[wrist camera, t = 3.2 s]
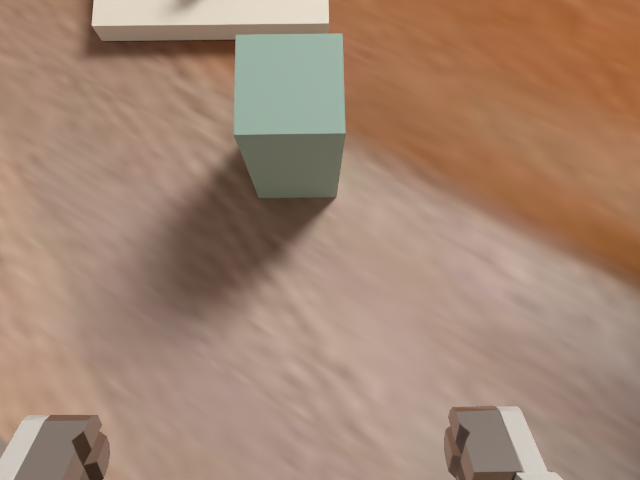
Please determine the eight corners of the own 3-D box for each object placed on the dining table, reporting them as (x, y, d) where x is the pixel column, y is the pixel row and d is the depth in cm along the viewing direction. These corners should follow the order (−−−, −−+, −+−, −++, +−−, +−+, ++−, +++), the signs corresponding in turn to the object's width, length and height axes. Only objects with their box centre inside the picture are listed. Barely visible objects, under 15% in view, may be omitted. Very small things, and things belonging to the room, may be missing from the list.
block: (334, 125, 30) (342, 33, 21) (336, 197, 29) (345, 133, 20) (259, 125, 30) (235, 34, 21) (258, 198, 29) (233, 134, 20)
